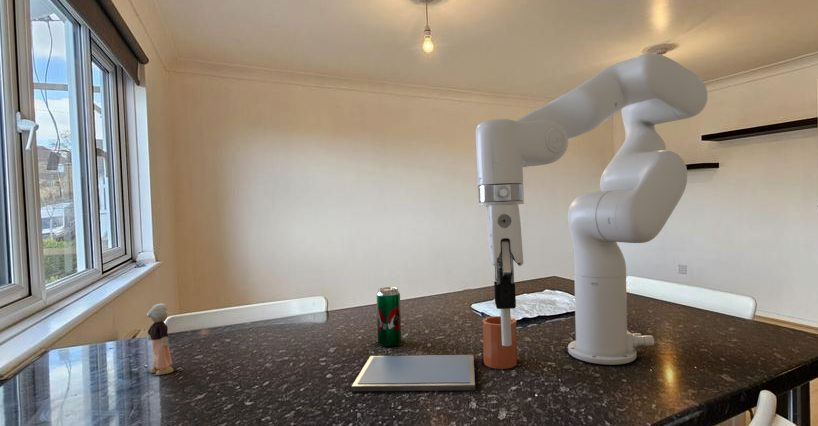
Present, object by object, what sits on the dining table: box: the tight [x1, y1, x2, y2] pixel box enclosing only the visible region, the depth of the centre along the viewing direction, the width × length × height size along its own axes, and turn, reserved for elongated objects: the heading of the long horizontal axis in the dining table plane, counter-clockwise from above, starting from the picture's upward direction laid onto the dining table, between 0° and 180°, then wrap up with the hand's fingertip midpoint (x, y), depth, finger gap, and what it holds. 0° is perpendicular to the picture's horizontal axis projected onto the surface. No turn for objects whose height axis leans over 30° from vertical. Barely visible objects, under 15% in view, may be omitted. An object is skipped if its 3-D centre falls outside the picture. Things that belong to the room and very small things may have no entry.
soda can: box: [376, 286, 402, 348], centre depth 93 cm, size 5×5×12 cm
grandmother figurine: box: [145, 303, 175, 376], centre depth 81 cm, size 8×4×13 cm, turn 65°
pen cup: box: [482, 315, 518, 370], centre depth 80 cm, size 6×6×8 cm
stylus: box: [500, 309, 512, 346], centre depth 71 cm, size 2×2×12 cm
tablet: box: [351, 354, 476, 393], centre depth 76 cm, size 20×14×1 cm
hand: (505, 305), depth 71 cm, fingers closed on stylus, 1 cm apart
